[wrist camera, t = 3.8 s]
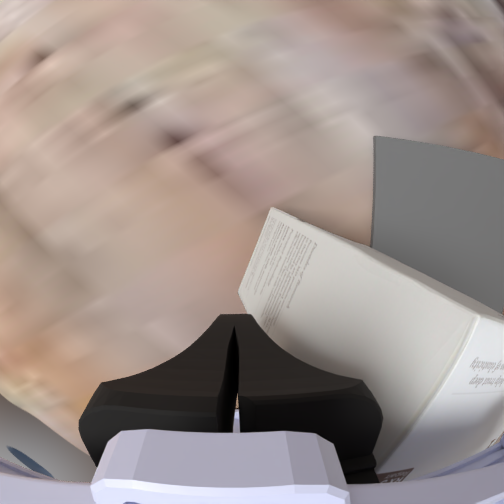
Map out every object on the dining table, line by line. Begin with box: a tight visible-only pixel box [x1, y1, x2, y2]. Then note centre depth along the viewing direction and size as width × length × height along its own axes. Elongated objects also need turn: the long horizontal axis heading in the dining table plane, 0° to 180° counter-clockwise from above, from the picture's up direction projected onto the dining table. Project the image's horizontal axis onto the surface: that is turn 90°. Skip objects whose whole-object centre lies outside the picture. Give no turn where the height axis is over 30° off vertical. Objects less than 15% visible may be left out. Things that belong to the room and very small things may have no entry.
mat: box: [370, 136, 504, 314], centre depth 21 cm, size 18×16×1 cm
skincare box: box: [238, 207, 504, 483], centre depth 13 cm, size 8×6×15 cm
